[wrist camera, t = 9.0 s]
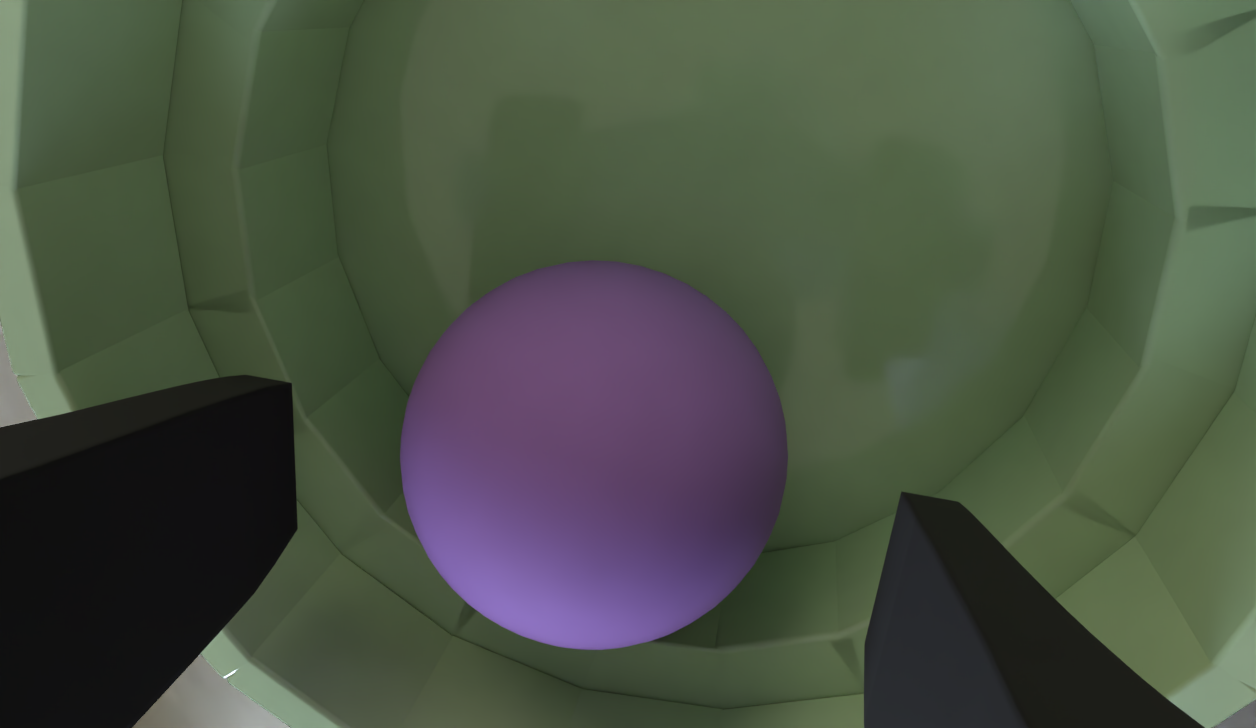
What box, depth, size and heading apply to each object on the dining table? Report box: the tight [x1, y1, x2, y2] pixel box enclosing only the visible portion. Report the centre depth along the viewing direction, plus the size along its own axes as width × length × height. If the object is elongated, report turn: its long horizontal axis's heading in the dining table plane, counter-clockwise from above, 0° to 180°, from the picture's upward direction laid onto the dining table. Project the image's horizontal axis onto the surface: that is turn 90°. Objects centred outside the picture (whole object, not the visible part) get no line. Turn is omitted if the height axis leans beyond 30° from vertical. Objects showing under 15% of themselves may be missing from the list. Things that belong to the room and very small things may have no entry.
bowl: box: [0, 0, 1256, 728], centre depth 11 cm, size 14×14×6 cm
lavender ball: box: [400, 260, 788, 650], centre depth 12 cm, size 5×5×5 cm
